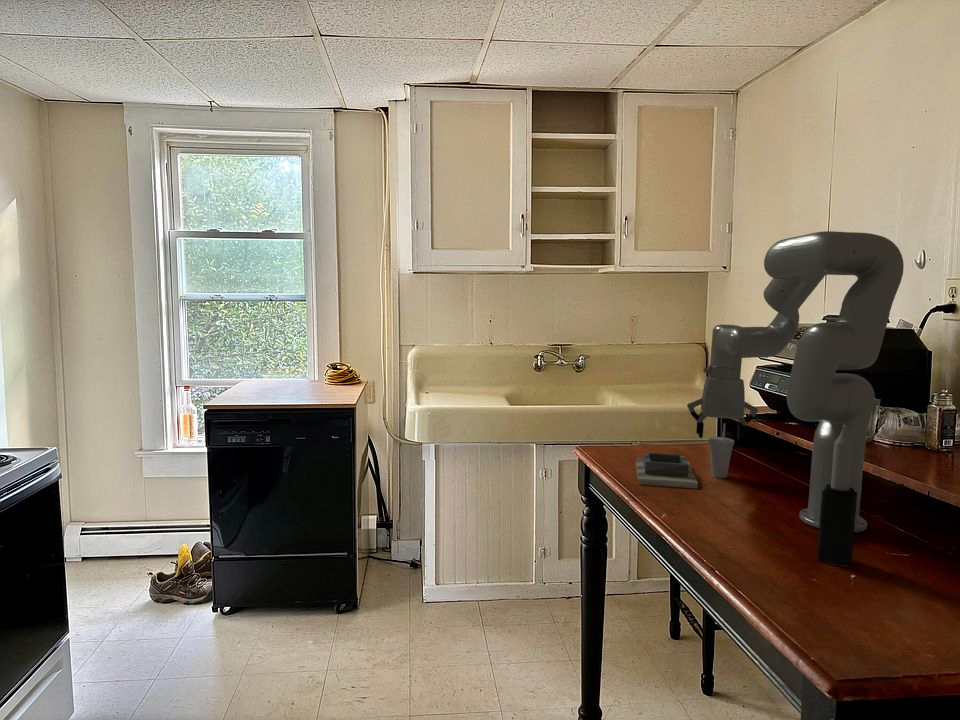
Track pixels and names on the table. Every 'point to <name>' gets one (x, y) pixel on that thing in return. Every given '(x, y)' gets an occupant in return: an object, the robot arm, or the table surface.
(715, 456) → the smoothie
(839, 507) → the dark tall narrow piece
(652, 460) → the holder
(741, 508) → the table surface
